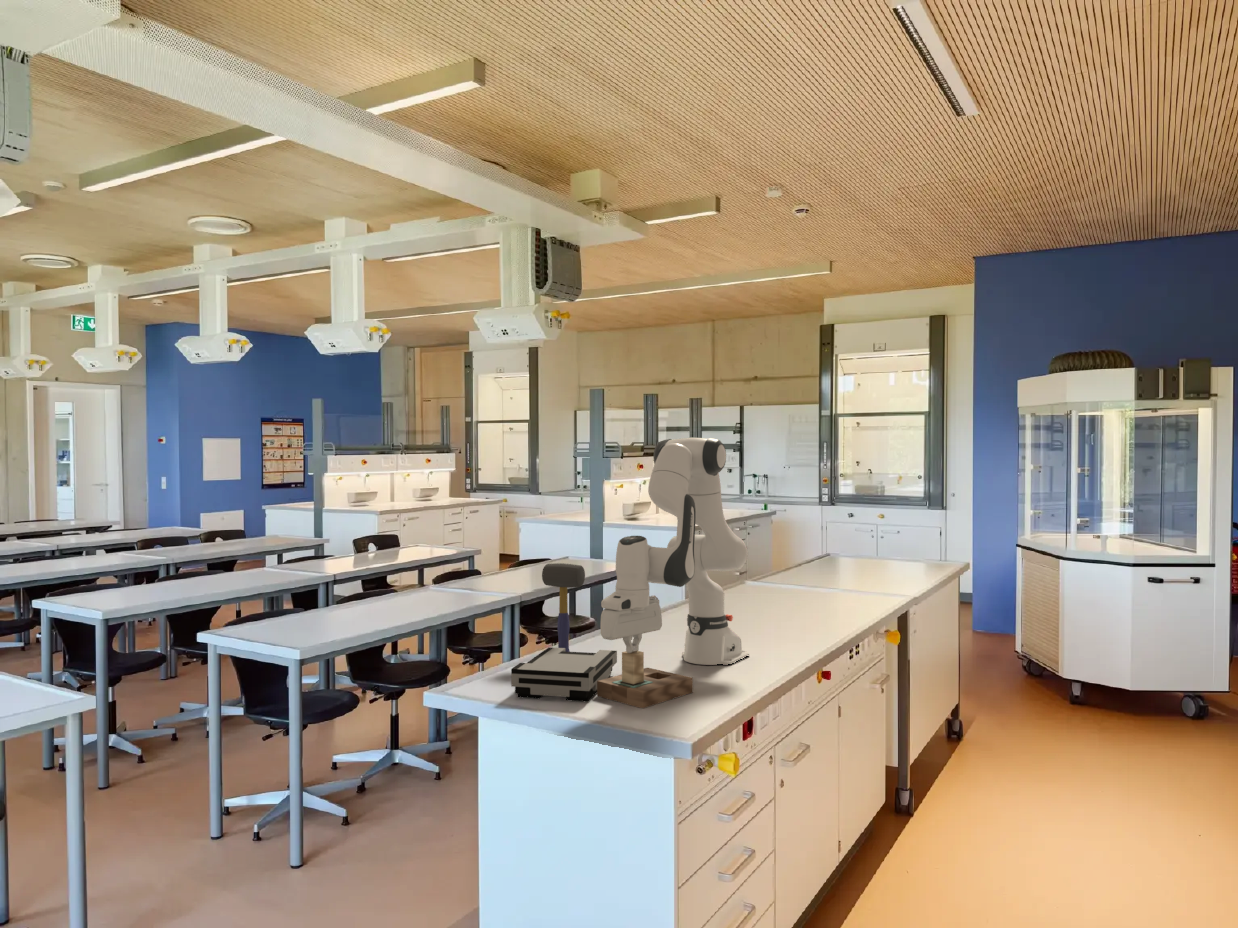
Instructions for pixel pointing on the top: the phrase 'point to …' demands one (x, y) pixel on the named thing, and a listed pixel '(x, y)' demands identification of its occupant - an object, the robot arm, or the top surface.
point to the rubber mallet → (563, 593)
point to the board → (646, 688)
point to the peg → (633, 668)
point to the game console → (563, 674)
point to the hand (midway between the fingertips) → (632, 651)
